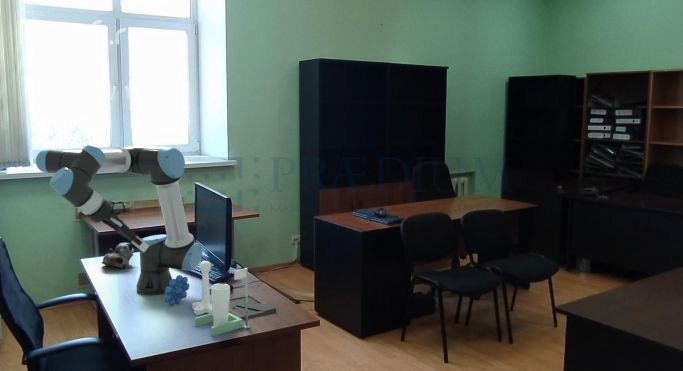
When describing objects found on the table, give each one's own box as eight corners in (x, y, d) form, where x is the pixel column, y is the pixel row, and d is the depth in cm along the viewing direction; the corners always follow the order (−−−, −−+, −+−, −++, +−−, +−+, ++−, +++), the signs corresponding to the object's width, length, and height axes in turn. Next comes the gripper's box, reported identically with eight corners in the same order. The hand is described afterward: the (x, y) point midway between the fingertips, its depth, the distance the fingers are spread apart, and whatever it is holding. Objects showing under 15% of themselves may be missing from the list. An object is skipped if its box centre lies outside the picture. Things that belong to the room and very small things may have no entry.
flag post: (232, 330, 207) (232, 269, 204) (247, 325, 211) (247, 266, 208) (236, 332, 205) (236, 271, 202) (251, 327, 210) (251, 268, 206)
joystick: (220, 312, 223) (219, 262, 220) (205, 318, 217) (204, 266, 214) (200, 306, 230) (199, 257, 227) (185, 311, 223) (184, 261, 220)
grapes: (182, 298, 237) (181, 270, 235) (193, 302, 233) (192, 273, 231) (158, 306, 228) (157, 277, 226) (168, 310, 224) (168, 280, 222)
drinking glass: (213, 322, 213) (213, 283, 211) (231, 323, 213) (231, 283, 211) (209, 329, 207) (208, 289, 204) (228, 330, 207) (228, 290, 204)
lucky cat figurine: (101, 264, 282) (113, 237, 285) (125, 272, 285) (137, 245, 289) (100, 263, 268) (112, 235, 271) (126, 272, 271) (137, 244, 275)
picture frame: (276, 312, 226) (250, 297, 242) (276, 308, 225) (250, 292, 242) (238, 321, 216) (215, 304, 233) (238, 316, 216) (215, 299, 233)
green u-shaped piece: (194, 325, 210) (194, 317, 210) (223, 317, 219) (223, 309, 218) (212, 336, 201) (212, 328, 201) (242, 327, 210) (242, 319, 209)
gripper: (79, 212, 189) (130, 253, 203) (94, 219, 180) (147, 261, 194) (94, 194, 192) (144, 236, 206) (110, 200, 182) (161, 243, 196)
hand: (145, 248), depth 200 cm, fingers closed
